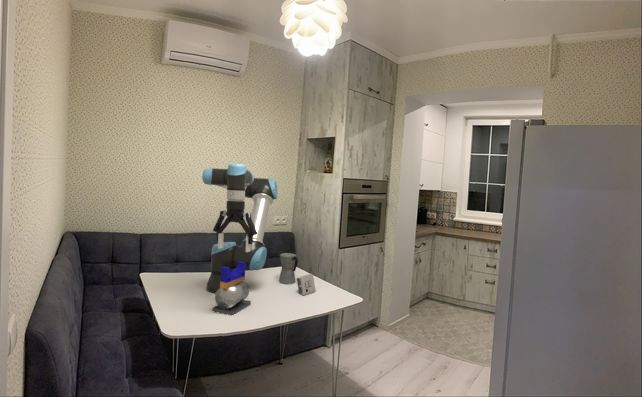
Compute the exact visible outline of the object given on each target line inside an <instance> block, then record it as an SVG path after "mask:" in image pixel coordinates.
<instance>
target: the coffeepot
mask: <svg viewBox="0 0 642 397" xmlns="http://www.w3.org/2000/svg"><path fill="white" fill-rule="evenodd" d="M279 258H280V259H279V260H280V266H281V270H280V274H279V280H278V282H279V284H283V285H293V284H295V283H296V275H295V271H296V270H297V265H298V262H299V259H298V257H297V254H295V253H291V250H290V249H287V250H286V252H284V253H280V254H279Z"/></svg>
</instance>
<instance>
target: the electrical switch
mask: <svg viewBox="0 0 642 397" xmlns="http://www.w3.org/2000/svg"><path fill="white" fill-rule="evenodd" d="M314 279H315V278H314V274H313V273H307V274H305V275H301V276H299V277H297V278H296V282H297V283H296V284H297V288H298V290H297V291H298V294H299V295H302V296H306V295H310V294H312V293H315V292H316V287H315V286H316V284H315V280H314Z"/></svg>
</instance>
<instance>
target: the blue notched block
mask: <svg viewBox="0 0 642 397" xmlns="http://www.w3.org/2000/svg"><path fill="white" fill-rule="evenodd" d="M244 276H245V277H246V270H245V262H238V265H237V268H235V269H233V270H232V272H231V273H230V268H229V267H221V282H225V283H228V282H230V281H233V280H236V279H238V278H241V277H244Z"/></svg>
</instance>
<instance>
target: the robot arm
mask: <svg viewBox="0 0 642 397" xmlns="http://www.w3.org/2000/svg"><path fill="white" fill-rule="evenodd" d="M201 176H202V177H201V178H202V179H201V180H202V182H203V184H204V185H209V186H211V185H213V186H216V187H221V188H223V189H226V200H227V201H226V207H225V208H226V210H220V212H219V215H218V218H217V221H216V222H215V225H214V226H213V229H212V232H214V233H216V241H217V243H215V244H213V245H212V246H211V247H212V248H211V253H210V257H211V259H210V276H209V278H208V281H207V282H206V283H207V284H206V291H207V292H209V293H213V294H216V292H217V290H218V289H220V282H221V267H229V268H230V273H231V272H232V270H233V269H235V268H237V265H238V262H245V271H247V270H248V271H260V270H262V269H263V267H264V265H265V263H266V259H267V254H268V251H267V249H268V248H266V247H265V244H264V242H263V240H264V236H265V230H266V224H267V220H268V219H267V218H268V215H269V214H268V213H269V211H270V210H269V209H270V206H271V205H272V204H273V203H274V200H277V199H278V185H277V181H276V179H274V178H264V177H263V178H261V177H255V176H254V173H253V172H252V171H250V170H248V169H247V166H246V165H245V164H241V163H229V164H228V166H227V168H215V167H214V168H213V167H210V168H204V170H203V171H202V175H201ZM246 198H247V199H251V200H252V201H253V205H252V209H251V210H252V211H251V212H245V206H246V202H245V200H246ZM230 223H238V224H240V226H241V228H242V229H243V231H245V234H246V236H245V239H243V240H242V241H241V245H237V243H236V241H224V238H225V237H224V236H225V235H224V234H225V233H224V232H223V231H224V230H226V228H227V227H228V226H229V225H230Z"/></svg>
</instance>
